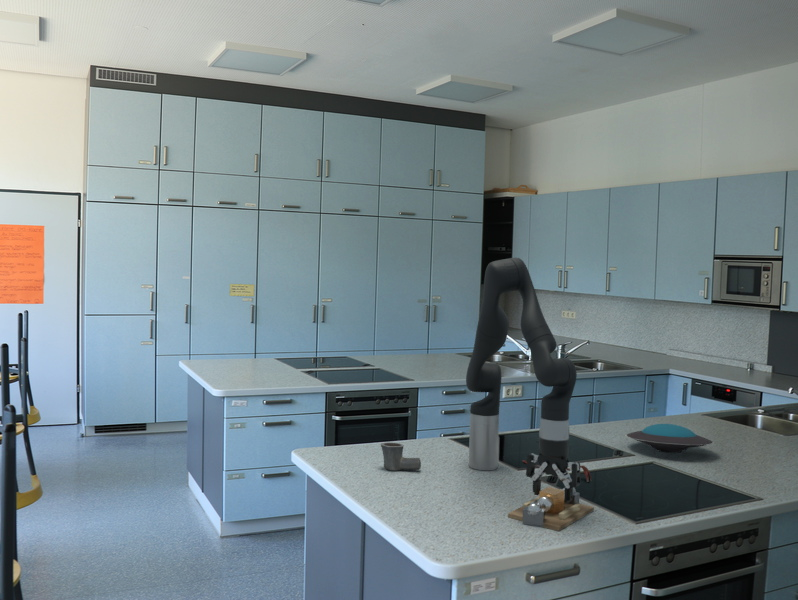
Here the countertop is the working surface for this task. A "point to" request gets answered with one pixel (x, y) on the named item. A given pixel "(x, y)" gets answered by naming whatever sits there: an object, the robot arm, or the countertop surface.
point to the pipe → (398, 458)
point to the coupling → (552, 500)
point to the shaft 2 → (574, 497)
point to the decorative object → (669, 438)
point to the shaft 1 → (534, 514)
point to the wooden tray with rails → (557, 515)
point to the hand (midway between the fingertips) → (552, 498)
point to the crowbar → (586, 471)
